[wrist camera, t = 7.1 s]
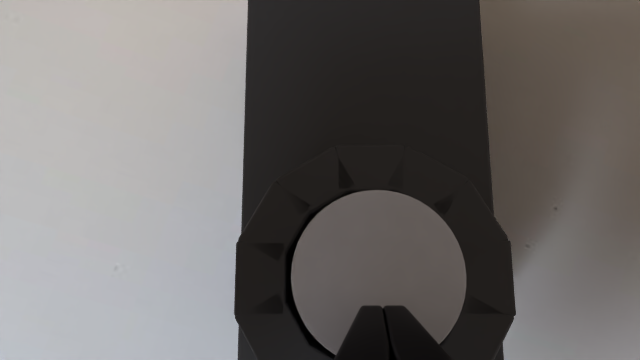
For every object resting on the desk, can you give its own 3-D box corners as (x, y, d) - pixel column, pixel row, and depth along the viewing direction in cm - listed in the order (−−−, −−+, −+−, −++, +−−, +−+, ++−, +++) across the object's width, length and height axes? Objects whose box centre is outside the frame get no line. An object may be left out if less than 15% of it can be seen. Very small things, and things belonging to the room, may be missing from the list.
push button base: (463, 378, 19) (536, 428, 12) (262, 378, 19) (219, 426, 12) (443, 15, 22) (493, -115, 15) (269, 18, 22) (238, -109, 15)
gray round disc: (451, 356, 13) (472, 368, 11) (297, 356, 13) (290, 367, 11) (443, 204, 13) (462, 188, 11) (297, 205, 13) (291, 189, 11)
